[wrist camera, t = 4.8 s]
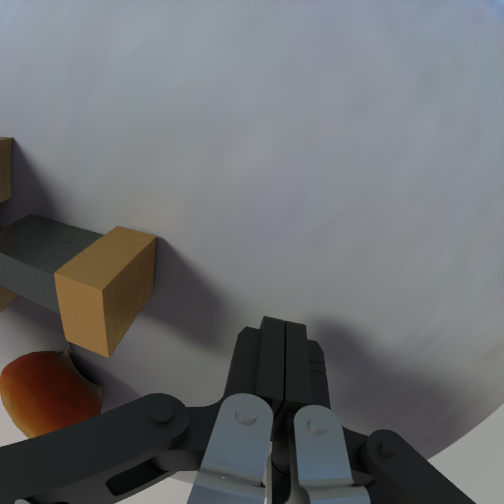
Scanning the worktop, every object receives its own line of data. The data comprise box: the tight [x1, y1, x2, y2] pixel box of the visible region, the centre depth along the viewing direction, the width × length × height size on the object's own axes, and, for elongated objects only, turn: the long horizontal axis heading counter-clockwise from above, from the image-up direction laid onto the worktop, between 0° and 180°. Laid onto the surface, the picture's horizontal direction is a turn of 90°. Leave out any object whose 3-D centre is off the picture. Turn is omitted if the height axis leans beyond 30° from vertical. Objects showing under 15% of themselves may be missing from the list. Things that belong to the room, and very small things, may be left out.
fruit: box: [0, 344, 104, 439], centre depth 15 cm, size 8×8×8 cm
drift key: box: [0, 215, 157, 358], centre depth 11 cm, size 3×8×5 cm, turn 77°
